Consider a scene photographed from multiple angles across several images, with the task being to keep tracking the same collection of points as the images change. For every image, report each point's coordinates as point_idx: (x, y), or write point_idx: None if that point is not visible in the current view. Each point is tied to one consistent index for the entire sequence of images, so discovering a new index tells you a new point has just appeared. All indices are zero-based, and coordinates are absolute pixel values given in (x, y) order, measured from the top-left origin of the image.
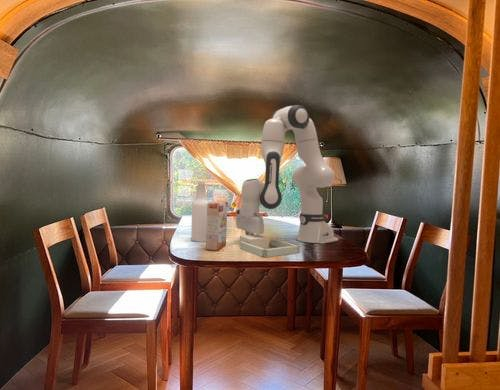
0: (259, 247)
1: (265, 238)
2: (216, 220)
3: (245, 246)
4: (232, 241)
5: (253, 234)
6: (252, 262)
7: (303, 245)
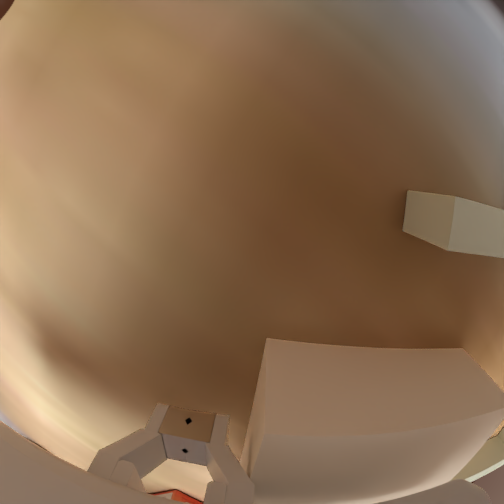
0: (483, 471)
1: (487, 438)
2: None
3: None
4: (74, 410)
5: (249, 482)
6: None
7: (496, 11)
